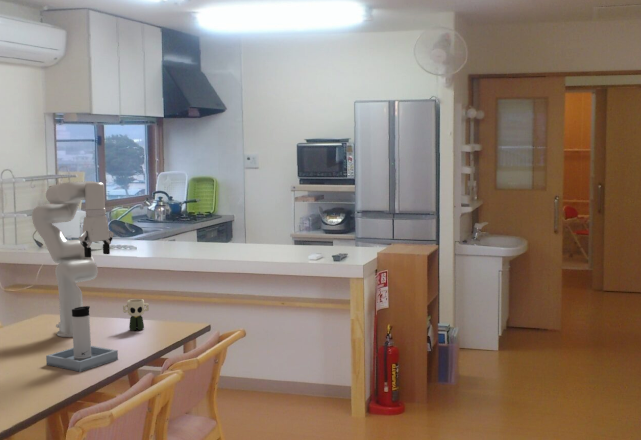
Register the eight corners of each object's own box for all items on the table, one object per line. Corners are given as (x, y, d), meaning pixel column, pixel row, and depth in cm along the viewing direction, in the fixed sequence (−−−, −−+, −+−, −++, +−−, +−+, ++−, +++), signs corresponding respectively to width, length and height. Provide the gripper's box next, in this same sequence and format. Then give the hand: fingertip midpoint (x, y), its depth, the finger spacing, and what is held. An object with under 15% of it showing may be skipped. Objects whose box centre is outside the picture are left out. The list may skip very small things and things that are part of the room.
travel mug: (87, 361, 284) (84, 308, 282) (70, 361, 285) (68, 308, 283) (95, 357, 290) (93, 304, 288) (79, 356, 291) (76, 304, 289)
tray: (46, 364, 284) (46, 355, 284) (84, 353, 300) (84, 344, 299) (80, 371, 275) (79, 362, 275) (117, 359, 290) (117, 350, 290)
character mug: (124, 332, 332) (123, 302, 331) (123, 328, 339) (122, 299, 338) (150, 330, 335) (148, 301, 334) (149, 326, 342) (147, 298, 341)
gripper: (105, 211, 317) (107, 252, 319) (71, 214, 303) (73, 257, 304) (118, 211, 313) (120, 253, 315) (85, 215, 299) (87, 259, 300)
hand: (97, 255), depth 310 cm, fingers open, 9 cm apart
